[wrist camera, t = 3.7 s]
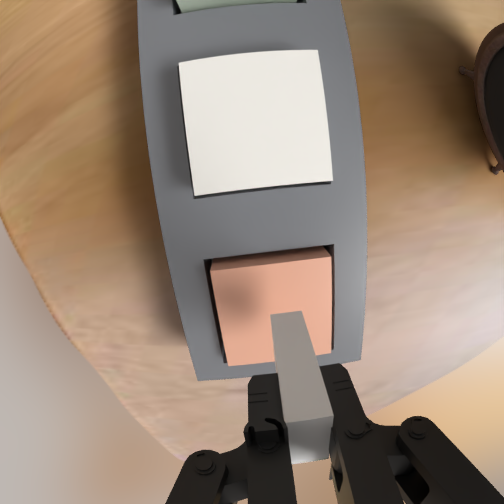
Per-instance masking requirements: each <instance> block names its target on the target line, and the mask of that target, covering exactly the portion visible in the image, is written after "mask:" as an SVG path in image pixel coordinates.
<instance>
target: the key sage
mask: <svg viewBox="0 0 504 504" xmlns="http://www.w3.org/2000/svg"><path fill="white" fill-rule="evenodd" d="M176 1H177V3H178V5H179V7H180V10H181V12H182V14H183V13H188V12H194V11H200V10H206V9H213V8H220V7H229V6H238V5H250V4H267V3H296V2H297V0H176Z"/></svg>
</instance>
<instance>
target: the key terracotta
mask: <svg viewBox="0 0 504 504" xmlns="http://www.w3.org/2000/svg"><path fill="white" fill-rule="evenodd" d="M210 273H211V279H212V285H213V290H214V296H215V301H216V306H217V312H218V317H219V322H220V327H221V333H222V338H223V343H224V348H225V353H226V358H227V362H228V366H236V365H247V364H256V363H265V362H274V361H275V359H274V349H273V338H272V328H271V318H270V314H278V313H286V312H294V311H302V313H303V317H304V320H305V323H306V326H307V329H308V332H309V335H310V339H311V342H312V345H313V348H314V352H315V355H322V354H328V353H331V336H332V264H331V256H330V254H329V253H328V252H327V251H326V249H325V248H324V247H323V246H322V245H321V246H313V247H305V248H296V249H288V250H279V251H271V252H262V253H254V254H245V255H237V256H228V257H220V258H213V262H212V266H211V270H210Z"/></svg>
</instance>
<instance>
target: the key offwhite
mask: <svg viewBox="0 0 504 504" xmlns="http://www.w3.org/2000/svg"><path fill="white" fill-rule="evenodd" d="M179 73H180V83H181V92H182V102H183V111H184V119H185V128H186V136H187V144H188V152H189V159H190V167H191V174H192V181H193V188H194V195H195V196H197V195H205V194H212V193H219V192H227V191H235V190H243V189H252V188H261V187H270V186H280V185H290V184H300V183H312V182H324V181H333V174H332V161H331V150H330V139H329V129H328V120H327V112H326V103H325V95H324V88H323V81H322V74H321V67H320V61H319V55H318V50H282V51H264V52H252V53H241V54H232V55H224V56H216V57H209V58H203V59H197V60H191V61H185V62H180V63H179Z"/></svg>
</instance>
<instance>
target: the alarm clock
mask: <svg viewBox="0 0 504 504" xmlns="http://www.w3.org/2000/svg"><path fill="white" fill-rule="evenodd" d="M459 72H460V73H461V74H466V75H467V76H468V77H470V78H471V79H472V80H474V91H475V99H476V104H477V109H478V113H479V117H480V120H481V124H482V127H483V130H484V133H485V135H486V138H487V140H488V143H489V145H490V147H491V150H492V152H493V154H494V156H495V158H496V160H497V161H498V164H497V166H496V167H495V166H494V167H492V172H493V174H495V175H496V174H498V172H499V171H500V170H503V172H504V23H502V24H500V25H498V26H496V27H495V28H494V29H492V30H491V31H490V32H489V33H488V34H487V35H486V37H485V38H484V40H483V41H482V43H481V45H480V47H479V50H478V53H477V56H476V60H475V67H474V72H473V71H470V70H467V69H466V68H465V67H463V66H461V67H459Z"/></svg>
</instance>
